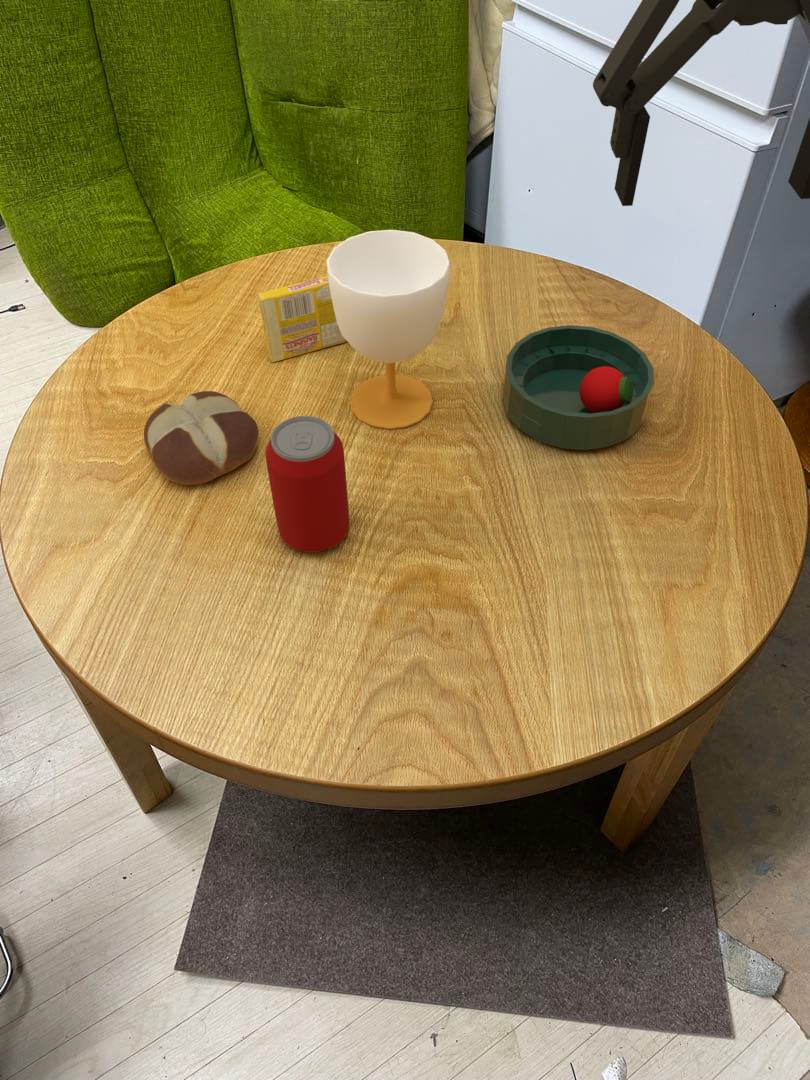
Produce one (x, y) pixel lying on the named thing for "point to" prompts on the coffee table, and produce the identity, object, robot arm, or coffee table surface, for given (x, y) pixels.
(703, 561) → the coffee table surface
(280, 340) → the candy box
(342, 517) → the beverage can
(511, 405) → the bowl
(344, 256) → the cup
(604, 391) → the tomato
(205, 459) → the bread
